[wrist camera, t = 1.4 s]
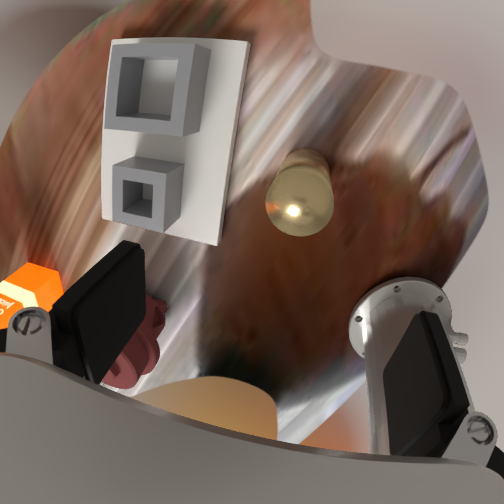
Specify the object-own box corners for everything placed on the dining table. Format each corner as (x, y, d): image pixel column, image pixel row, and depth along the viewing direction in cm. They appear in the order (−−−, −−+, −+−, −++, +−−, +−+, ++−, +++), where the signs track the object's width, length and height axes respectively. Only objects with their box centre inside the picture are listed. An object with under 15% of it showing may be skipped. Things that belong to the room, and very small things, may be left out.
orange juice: (59, 271, 42) (-31, 354, 25) (70, 317, 46) (-3, 401, 29) (27, 261, 43) (-58, 332, 26) (39, 305, 47) (-32, 378, 30)
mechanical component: (103, 276, 40) (164, 268, 37) (132, 335, 44) (191, 334, 41) (48, 332, 29) (110, 334, 27) (91, 395, 33) (155, 405, 31)
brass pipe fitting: (333, 154, 28) (341, 180, 19) (323, 198, 30) (324, 242, 21) (286, 143, 28) (272, 164, 20) (278, 188, 31) (260, 227, 22)
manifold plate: (250, 44, 25) (236, 33, 20) (220, 239, 34) (204, 264, 29) (119, 41, 26) (87, 36, 21) (109, 213, 36) (81, 232, 31)
